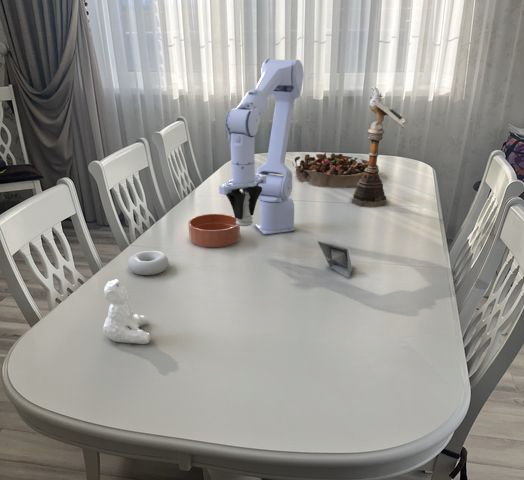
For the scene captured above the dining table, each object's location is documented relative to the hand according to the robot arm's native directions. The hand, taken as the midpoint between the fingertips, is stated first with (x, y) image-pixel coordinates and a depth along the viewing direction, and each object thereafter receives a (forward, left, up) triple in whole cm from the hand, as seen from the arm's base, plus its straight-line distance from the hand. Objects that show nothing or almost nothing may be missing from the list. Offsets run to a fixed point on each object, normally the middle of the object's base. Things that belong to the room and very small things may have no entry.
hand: (244, 216), depth 141 cm
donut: (+26, +3, -10) cm, 28 cm away
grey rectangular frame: (-17, +19, -10) cm, 27 cm away
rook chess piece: (0, 0, -2) cm, 2 cm away
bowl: (+5, -11, -9) cm, 15 cm away
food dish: (-57, -61, -10) cm, 84 cm away
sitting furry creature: (+36, +34, -10) cm, 51 cm away
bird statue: (-55, -26, -10) cm, 61 cm away
